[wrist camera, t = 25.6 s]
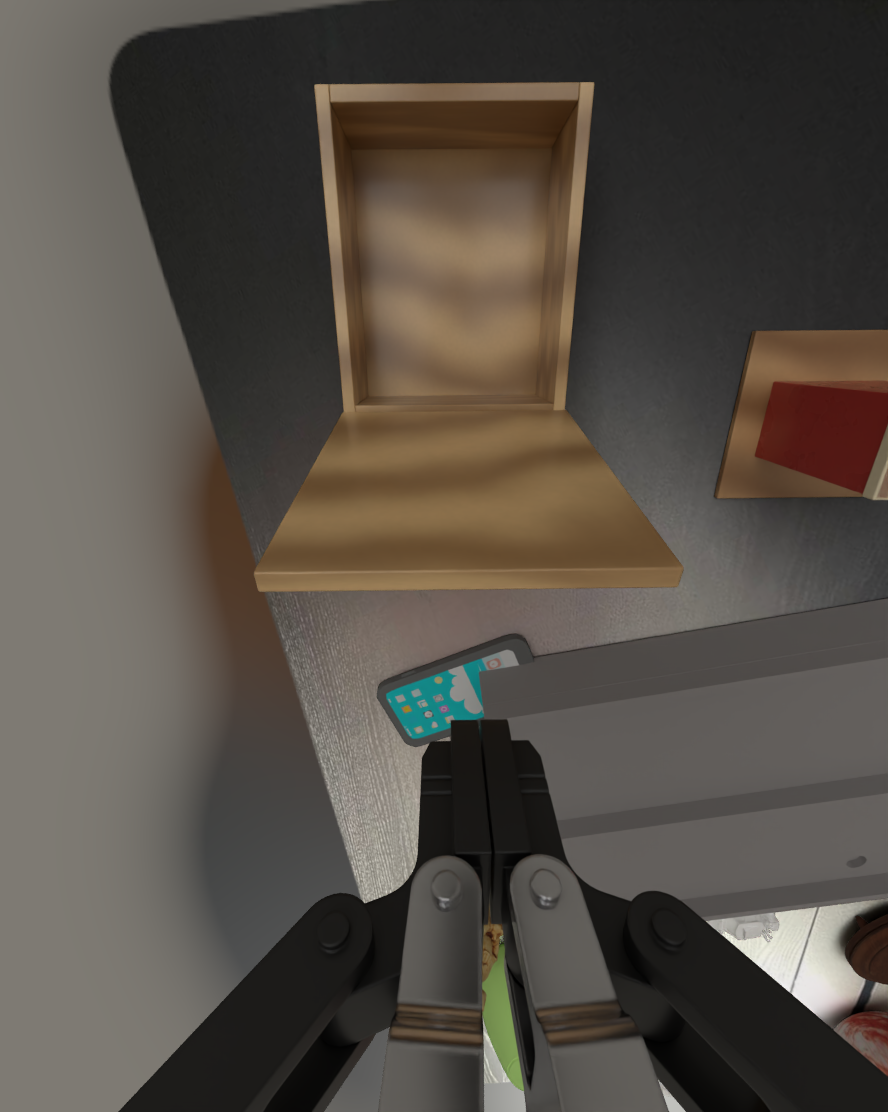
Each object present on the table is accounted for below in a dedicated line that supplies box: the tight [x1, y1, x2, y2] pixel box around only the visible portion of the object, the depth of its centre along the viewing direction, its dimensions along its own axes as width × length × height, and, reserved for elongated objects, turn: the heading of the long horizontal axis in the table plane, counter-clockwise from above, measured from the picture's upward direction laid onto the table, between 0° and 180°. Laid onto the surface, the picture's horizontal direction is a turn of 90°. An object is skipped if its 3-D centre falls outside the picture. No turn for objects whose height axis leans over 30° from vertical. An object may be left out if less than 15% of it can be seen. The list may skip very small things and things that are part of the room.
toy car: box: [707, 912, 779, 942], centre depth 58 cm, size 5×8×4 cm, turn 101°
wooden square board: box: [714, 330, 888, 498], centre depth 35 cm, size 12×12×1 cm
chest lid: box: [254, 410, 684, 592], centre depth 22 cm, size 16×13×1 cm
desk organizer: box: [479, 599, 888, 921], centre depth 46 cm, size 32×40×7 cm
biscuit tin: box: [755, 380, 888, 500], centre depth 30 cm, size 6×8×11 cm
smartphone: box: [377, 634, 534, 747], centre depth 45 cm, size 9×1×15 cm
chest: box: [314, 82, 594, 412], centre depth 29 cm, size 15×13×7 cm
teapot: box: [482, 944, 524, 1091], centre depth 59 cm, size 22×15×13 cm
